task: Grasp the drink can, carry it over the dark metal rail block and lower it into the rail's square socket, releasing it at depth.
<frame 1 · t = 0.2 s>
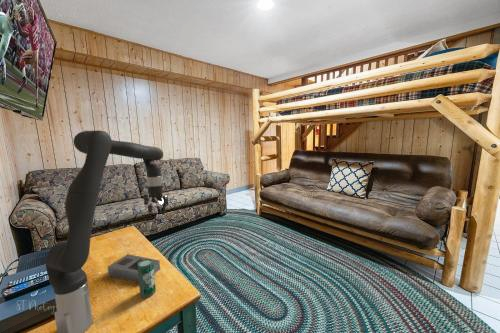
hand: (156, 213, 116), 29 cm above the table, fingers open, 8 cm apart
rail: (134, 272, 110), on the table
can: (148, 293, 96), on the table
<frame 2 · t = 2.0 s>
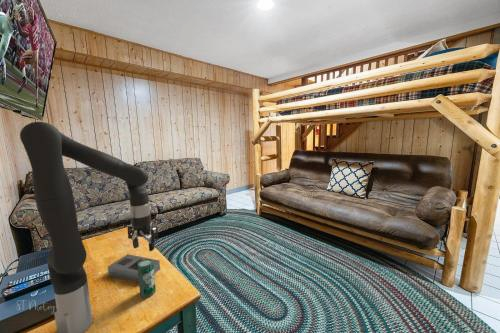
hand: (144, 248, 93), 21 cm above the table, fingers open, 8 cm apart
nothing on the table moved.
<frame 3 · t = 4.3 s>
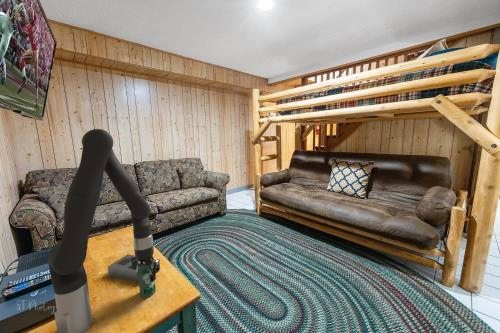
hand: (146, 279, 95), 7 cm above the table, fingers closed on can, 6 cm apart
can: (148, 293, 96), on the table, touching gripper
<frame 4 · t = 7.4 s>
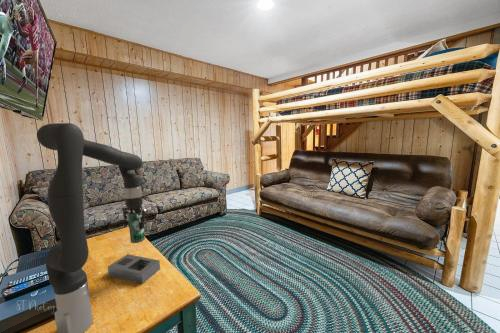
hand: (136, 227, 106), 25 cm above the table, fingers closed on can, 6 cm apart
can: (137, 240, 107), point 18 cm above the table, touching gripper
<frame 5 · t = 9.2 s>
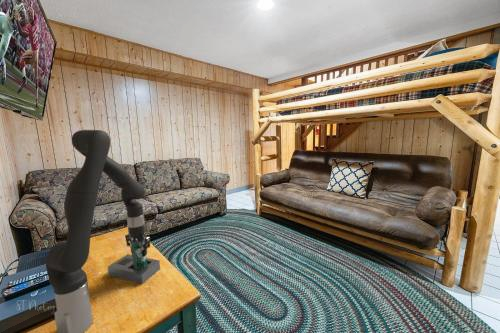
hand: (139, 254, 108), 11 cm above the table, fingers closed on can, 6 cm apart
can: (140, 266, 109), point 4 cm above the table, touching gripper
when the fingers open (8 cm above the table, at t = 10.8 s): can stays where it is, resting in rail.
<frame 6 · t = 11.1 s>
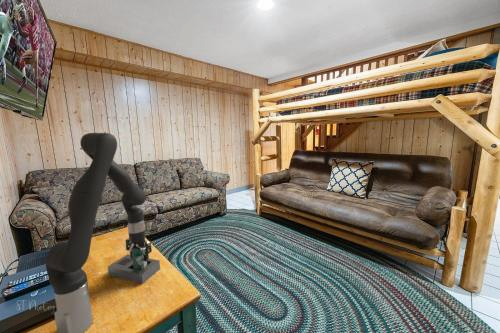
hand: (139, 259, 108), 8 cm above the table, fingers open, 8 cm apart
can: (141, 274, 109), resting in rail
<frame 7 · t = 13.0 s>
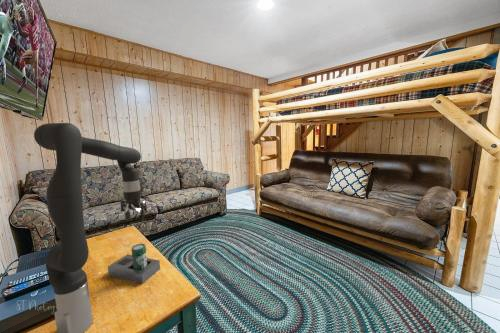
hand: (134, 220, 106), 29 cm above the table, fingers open, 8 cm apart
nothing on the table moved.
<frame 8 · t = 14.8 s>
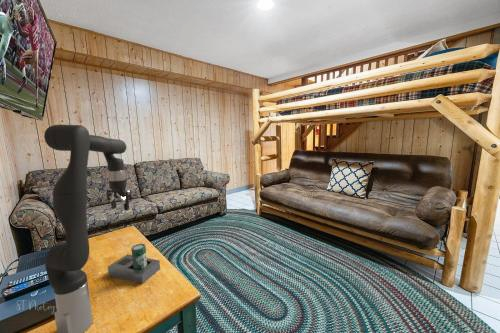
hand: (120, 209, 110), 33 cm above the table, fingers open, 8 cm apart
nothing on the table moved.
at the end: can 0.0 cm from the target spot on the rail, point 0.0 cm above the rail's base; can tilted 0°; the gripper is holding nothing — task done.
